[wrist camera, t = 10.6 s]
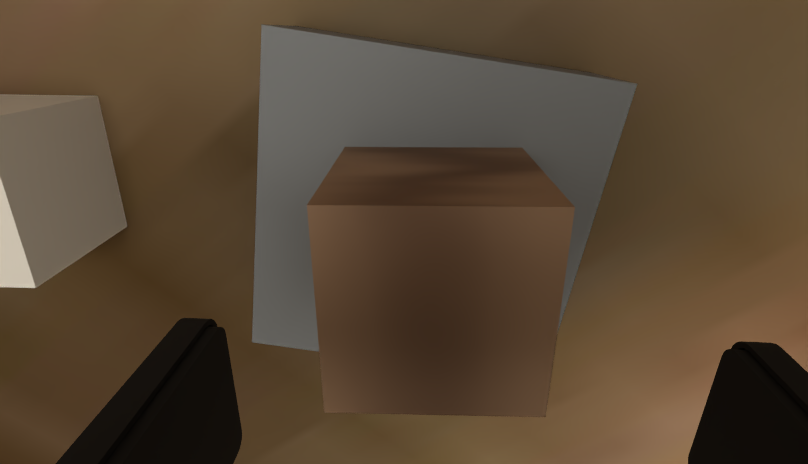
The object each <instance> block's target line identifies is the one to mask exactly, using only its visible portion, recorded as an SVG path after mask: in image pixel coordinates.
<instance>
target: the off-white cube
mask: <svg viewBox="0 0 808 464" xmlns="http://www.w3.org/2000/svg"><path fill="white" fill-rule="evenodd" d="M126 227H127V223H126V218H125V214H124V209H123V205H122V200H121V196H120V192H119V187H118V183H117V178H116V174H115V169H114V165H113V161H112V156H111V152H110V147H109V143H108V138H107V134H106V130H105V125H104V121H103V116H102V112H101V107H100V103H99V99H98V96H78V95H14V94H0V287H21V288H36V287H38V286H39V285H41V284H42V283H44V282H45V281H47V280H48V279H50V278H51V277H53V276H54V275H56V274H57V273H59V272H60V271H62V270H63V269H65V268H66V267H68V266H69V265H71V264H72V263H74V262H75V261H77V260H78V259H80V258H81V257H83V256H84V255H86V254H87V253H89V252H90V251H92V250H93V249H95V248H96V247H98V246H99V245H101V244H102V243H104V242H105V241H107V240H108V239H109V238H111V237H112V236H114V235H115V234H117V233H118V232H120V231H121V230H123V229H124V228H126Z"/></svg>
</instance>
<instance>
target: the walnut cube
mask: <svg viewBox="0 0 808 464" xmlns="http://www.w3.org/2000/svg"><path fill="white" fill-rule="evenodd" d="M574 211H575V207H574V205H573V204H572V203H571V202H570V201H569V200H568V199H567V198H566V196H565V195H564V194H563V193H562V192H561V191H560V190H559V189H558V187H557V186H556V185H555V184H554V183H553V182H552V181H551V179H550V178H549V177H548V176H547V175H546V174H545V173H544V172H543V170H542V169H541V168H540V167H539V166H538V165H537V164H536V163H535V161H534V160H533V159H532V158H531V157H530V156H529V155H528V154H527V152H526V151H525V150H524V149H523V148H493V147H344V149H343V151H342V152H341V154H340V155H339V157H338V158H337V160H336V161H335V163H334V164H333V166H332V167H331V169H330V170H329V172H328V174H327V175H326V177H325V178H324V180H323V181H322V183H321V184H320V186H319V187H318V189H317V190H316V192H315V193H314V195H313V197H312V198H311V200H310V201H309V203H308V204H307V212H308V224H309V236H310V248H311V260H312V272H313V284H314V295H315V307H316V319H317V331H318V343H319V355H320V367H321V379H322V391H323V403H324V413H369V414H419V415H469V416H519V417H546V410H547V403H548V396H549V389H550V382H551V375H552V368H553V360H554V353H555V346H556V339H557V332H558V325H559V318H560V311H561V303H562V296H563V289H564V282H565V275H566V268H567V261H568V254H569V246H570V239H571V232H572V225H573V218H574Z"/></svg>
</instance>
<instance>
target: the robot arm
mask: <svg viewBox="0 0 808 464" xmlns="http://www.w3.org/2000/svg"><path fill="white" fill-rule="evenodd" d="M241 440H242V429H241V423H240V417H239V411H238V405H237V399H236V393H235V387H234V381H233V375H232V369H231V363H230V357H229V350H228V344H227V338H226V333H225V330H224V328H222V327H217V324H216V322H215V321H214V320H212V319H197V318H182V319H180V320H179V321H178V322H177V323H176V324H175V325H174V327H173V328H172V329H171V330H170V331H169V332H168V334H167V335H166V336H165V337H164V338H163V339H162V341H161V342H160V343H159V344H158V345H157V346H156V347H155V349H154V350H153V351H152V352H151V353H150V354H149V356H148V357H147V358H146V359H145V360H144V361H143V363H142V364H141V365H140V366H139V367H138V368H137V370H136V371H135V372H134V373H133V374H132V375H131V377H130V378H129V379H128V380H127V381H126V382H125V384H124V385H123V386H122V387H121V388H120V389H119V391H118V392H117V393H116V394H115V395H114V396H113V398H112V399H111V400H110V401H109V402H108V403H107V405H106V406H105V407H104V408H103V409H102V410H101V412H100V413H99V414H98V415H97V416H96V417H95V419H94V420H93V421H92V422H91V423H90V424H89V426H88V427H87V428H86V429H85V430H84V431H83V433H82V434H81V435H80V436H79V437H78V438H77V439H76V441H75V442H74V443H73V444H72V445H71V446H70V448H69V449H68V450H67V451H66V452H65V453H64V455H63V456H62V457H61V458H60V459H59V460H58V462H57V463H56V464H233V463H234V460H235V458H236V456H237V454H238V452H239V449H240V445H241ZM688 464H808V372H807V371H805V370H804V369H803V368H802V367H801V366H800V365H799V364H798V363H797V362H796V361H795V360H794V359H793V358H792V357H791V356H790V355H788V354H787V353H786V352H785V351H784V350H783V349H782V348H781V347H780V346H778V345H777V344H773V343H762V342H737V343H735V344H734V345H733V346H732V348H731V349H728V350H726V351H725V352H724V353H723V355H722V357H721V360H720V363H719V366H718V369H717V372H716V375H715V378H714V381H713V384H712V387H711V390H710V393H709V396H708V399H707V402H706V405H705V408H704V411H703V414H702V417H701V420H700V423H699V426H698V429H697V432H696V435H695V438H694V441H693V444H692V447H691V450H690V453H689V457H688Z"/></svg>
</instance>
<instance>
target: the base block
mask: <svg viewBox="0 0 808 464" xmlns="http://www.w3.org/2000/svg"><path fill="white" fill-rule="evenodd" d="M636 86H637V84H636V83H632V82H627V81H623V80H619V79H615V78H611V77H607V76H603V75H598V74H594V73H590V72H584V71H577V70H571V69H565V68H558V67H552V66H546V65H539V64H533V63H527V62H520V61H514V60H508V59H501V58H495V57H489V56H482V55H476V54H470V53H463V52H457V51H451V50H444V49H438V48H432V47H425V46H419V45H413V44H406V43H400V42H394V41H388V40H381V39H375V38H369V37H362V36H356V35H350V34H343V33H337V32H331V31H324V30H318V29H312V28H305V27H299V26H283V25H262V31H261V64H260V97H259V131H258V164H257V197H256V231H255V264H254V297H253V331H252V342H254V343H261V344H269V345H276V346H283V347H290V348H297V349H304V350H312V351H319V343H318V331H317V319H316V307H315V295H314V284H313V272H312V260H311V248H310V236H309V224H308V212H307V204H308V203H309V201H310V200H311V198H312V197H313V195H314V193H315V192H316V190H317V189H318V187H319V186H320V184H321V183H322V181H323V180H324V178H325V177H326V175H327V174H328V172H329V170H330V169H331V167H332V166H333V164H334V163H335V161H336V160H337V158H338V157H339V155H340V154H341V152H342V151H343V149H344V147H493V148H523V149H524V150H525V151H526V152H527V154H528V155H529V156H530V157H531V158H532V159H533V160H534V161H535V163H536V164H537V165H538V166H539V167H540V168H541V169H542V170H543V172H544V173H545V174H546V175H547V176H548V177H549V178H550V179H551V181H552V182H553V183H554V184H555V185H556V186H557V187H558V189H559V190H560V191H561V192H562V193H563V194H564V195H565V196H566V198H567V199H568V200H569V201H570V202H571V203H572V204H573V205H574V207H575V211H574V218H573V225H572V232H571V239H570V246H569V254H568V261H567V268H566V275H565V282H564V289H563V296H562V303H561V311H560V318H559V325H558V330H559V327H560V324H561V321H562V317H563V314H564V311H565V308H566V305H567V302H568V299H569V296H570V292H571V289H572V286H573V283H574V280H575V277H576V274H577V271H578V267H579V264H580V261H581V258H582V255H583V252H584V249H585V246H586V242H587V239H588V236H589V233H590V230H591V227H592V224H593V221H594V218H595V214H596V211H597V208H598V205H599V202H600V199H601V196H602V193H603V189H604V186H605V183H606V180H607V177H608V174H609V171H610V168H611V164H612V161H613V158H614V155H615V152H616V149H617V146H618V143H619V139H620V136H621V133H622V130H623V127H624V124H625V121H626V118H627V115H628V111H629V108H630V105H631V102H632V99H633V96H634V93H635V90H636ZM557 333H558V332H557Z"/></svg>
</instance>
